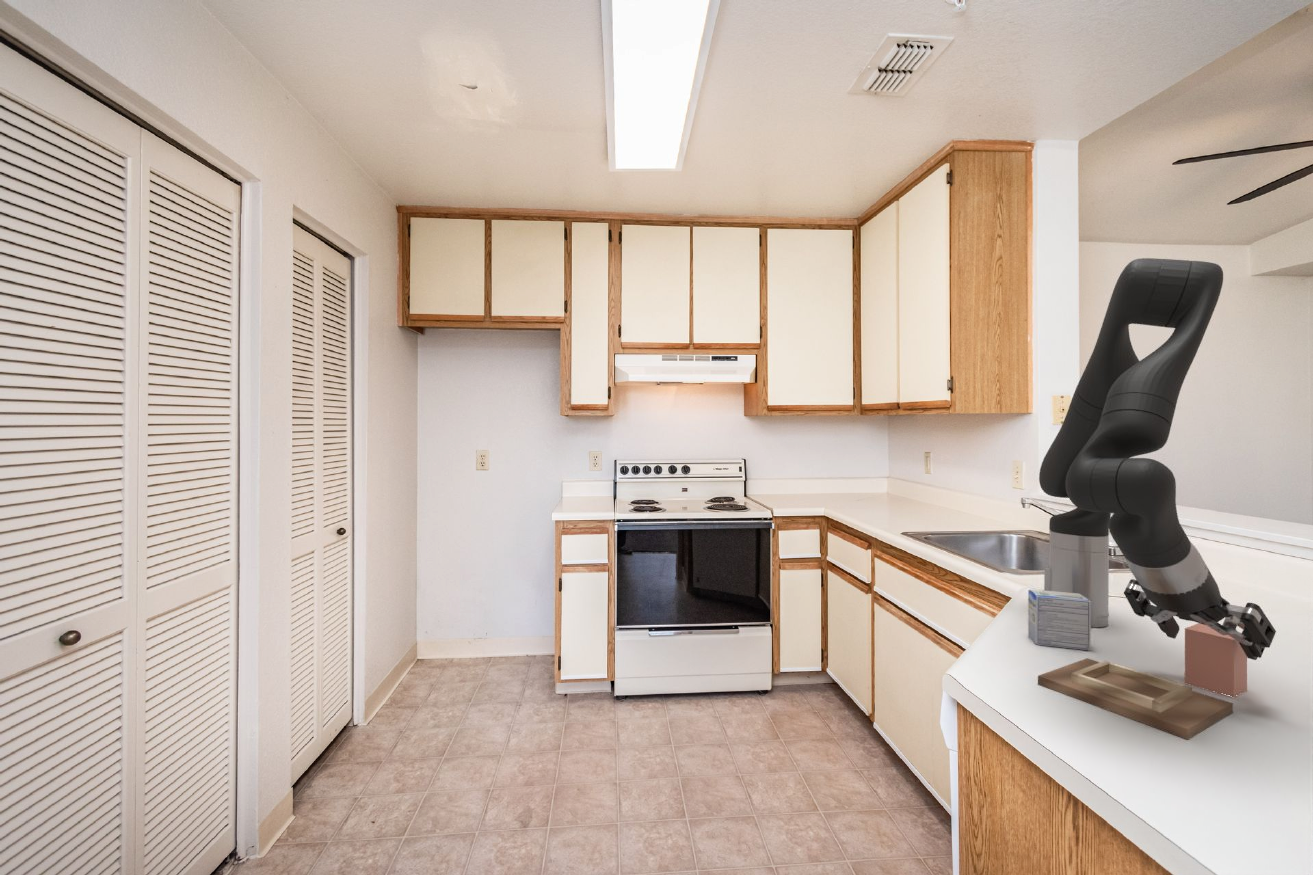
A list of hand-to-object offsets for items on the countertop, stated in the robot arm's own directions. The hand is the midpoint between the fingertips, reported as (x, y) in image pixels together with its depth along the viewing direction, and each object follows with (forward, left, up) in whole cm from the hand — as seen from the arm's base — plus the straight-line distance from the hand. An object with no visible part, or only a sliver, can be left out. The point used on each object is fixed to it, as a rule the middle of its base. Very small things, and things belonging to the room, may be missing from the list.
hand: (1212, 643), depth 76 cm
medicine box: (-19, -1, -7) cm, 20 cm away
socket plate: (-4, -15, -6) cm, 16 cm away
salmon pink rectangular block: (0, +1, -6) cm, 6 cm away
